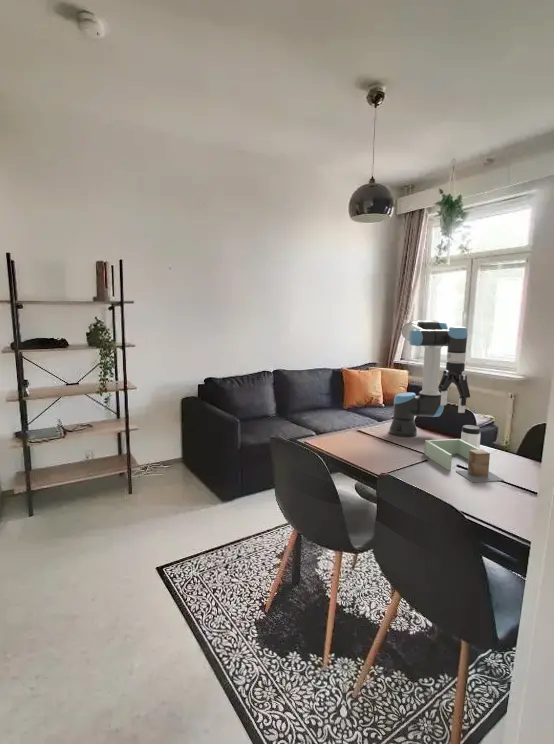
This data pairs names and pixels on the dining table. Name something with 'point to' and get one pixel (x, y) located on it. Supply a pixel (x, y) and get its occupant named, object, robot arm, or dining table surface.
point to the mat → (489, 478)
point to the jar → (471, 435)
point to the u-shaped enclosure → (447, 450)
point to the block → (478, 463)
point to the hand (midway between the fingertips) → (452, 408)
